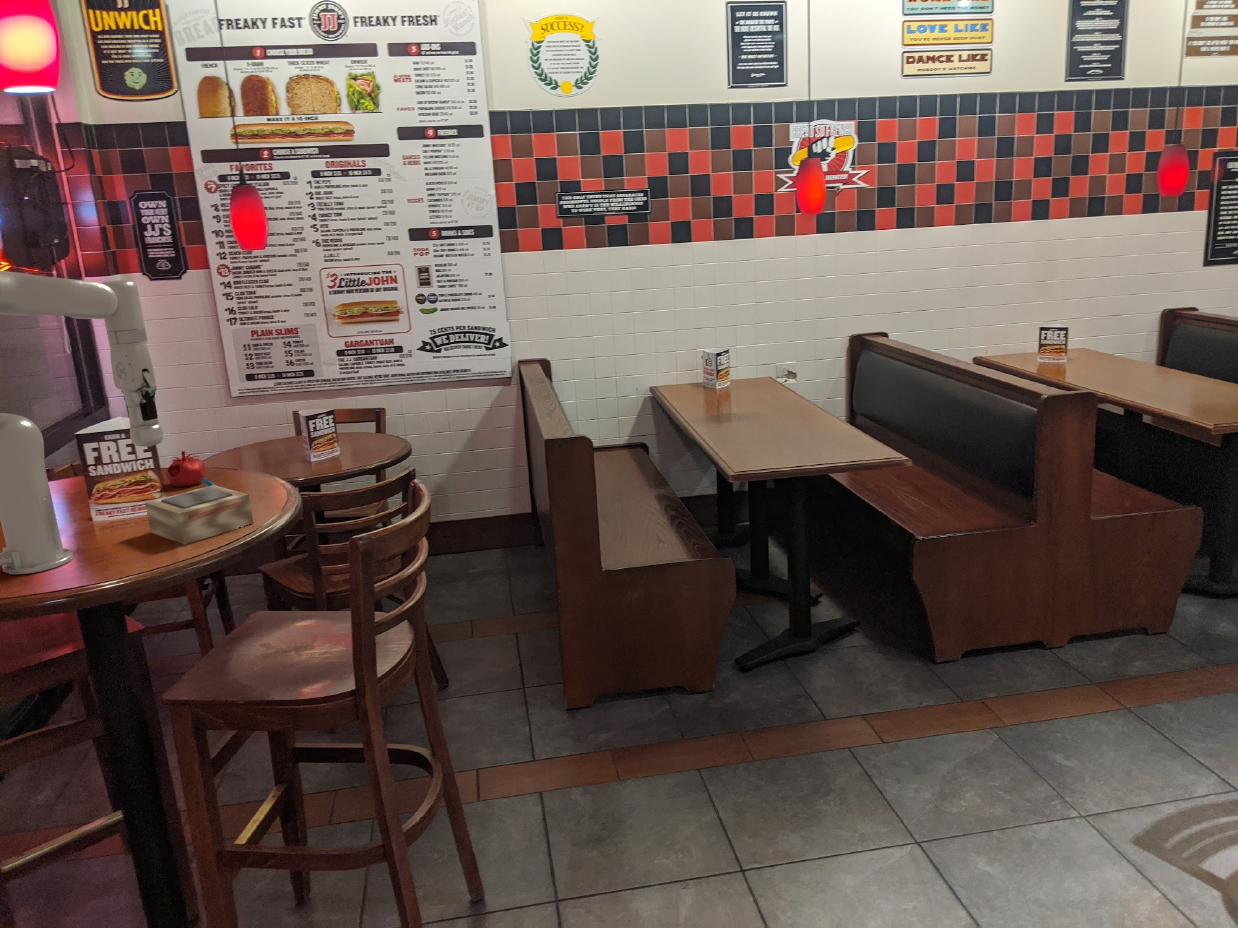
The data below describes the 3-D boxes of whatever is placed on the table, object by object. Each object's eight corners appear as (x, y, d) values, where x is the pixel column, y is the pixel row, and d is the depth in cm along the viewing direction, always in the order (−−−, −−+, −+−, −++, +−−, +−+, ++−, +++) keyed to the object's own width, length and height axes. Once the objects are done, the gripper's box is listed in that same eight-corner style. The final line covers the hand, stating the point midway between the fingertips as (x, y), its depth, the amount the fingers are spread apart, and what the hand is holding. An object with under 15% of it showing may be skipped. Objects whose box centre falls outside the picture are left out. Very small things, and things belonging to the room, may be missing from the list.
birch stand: (185, 544, 198) (179, 512, 196) (150, 532, 208) (144, 501, 206) (254, 524, 209) (249, 492, 208) (218, 513, 220) (213, 483, 218)
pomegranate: (204, 477, 255) (199, 445, 253) (210, 484, 247) (205, 450, 245) (165, 483, 250) (160, 450, 248) (170, 490, 242) (165, 456, 240)
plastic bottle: (157, 448, 204) (140, 359, 199) (126, 450, 204) (109, 360, 199) (170, 441, 211) (154, 355, 206) (140, 443, 211) (123, 356, 205)
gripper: (91, 339, 203) (108, 419, 208) (129, 341, 193) (146, 425, 198) (125, 334, 209) (141, 412, 214) (164, 336, 199) (179, 418, 204)
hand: (143, 417), depth 206 cm, fingers closed on plastic bottle, 5 cm apart
